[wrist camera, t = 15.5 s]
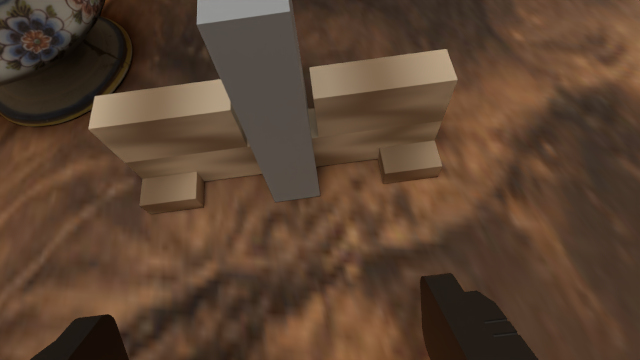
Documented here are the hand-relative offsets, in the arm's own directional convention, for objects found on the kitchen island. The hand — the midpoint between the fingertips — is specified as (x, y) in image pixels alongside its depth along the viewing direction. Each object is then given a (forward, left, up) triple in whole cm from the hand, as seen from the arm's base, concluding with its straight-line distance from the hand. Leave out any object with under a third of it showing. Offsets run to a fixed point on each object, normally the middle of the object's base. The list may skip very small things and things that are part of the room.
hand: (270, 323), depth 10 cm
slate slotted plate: (0, -10, -9) cm, 13 cm away
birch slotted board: (0, -10, -9) cm, 13 cm away
